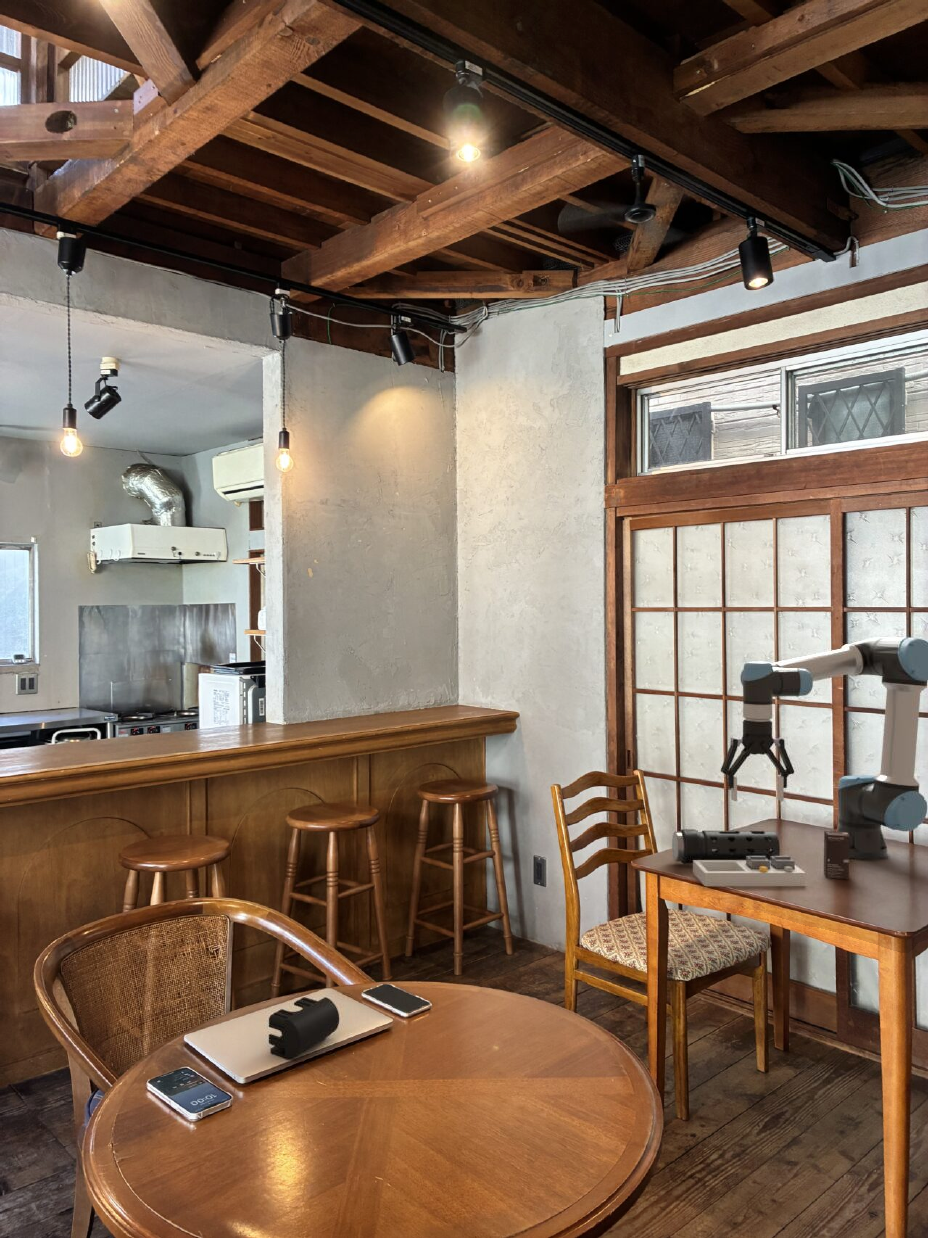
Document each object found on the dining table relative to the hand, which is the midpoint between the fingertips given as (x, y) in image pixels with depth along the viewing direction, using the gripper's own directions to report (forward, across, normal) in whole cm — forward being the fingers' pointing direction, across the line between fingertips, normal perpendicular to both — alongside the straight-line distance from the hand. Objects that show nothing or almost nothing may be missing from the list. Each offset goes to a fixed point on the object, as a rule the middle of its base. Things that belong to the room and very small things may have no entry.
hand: (757, 800), depth 241 cm
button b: (+19, 0, 0) cm, 19 cm away
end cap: (+22, +105, +93) cm, 142 cm away
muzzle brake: (+22, +5, -12) cm, 25 cm away
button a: (+19, -7, 0) cm, 20 cm away
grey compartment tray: (+21, +2, 0) cm, 21 cm away
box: (+21, -22, -2) cm, 31 cm away
